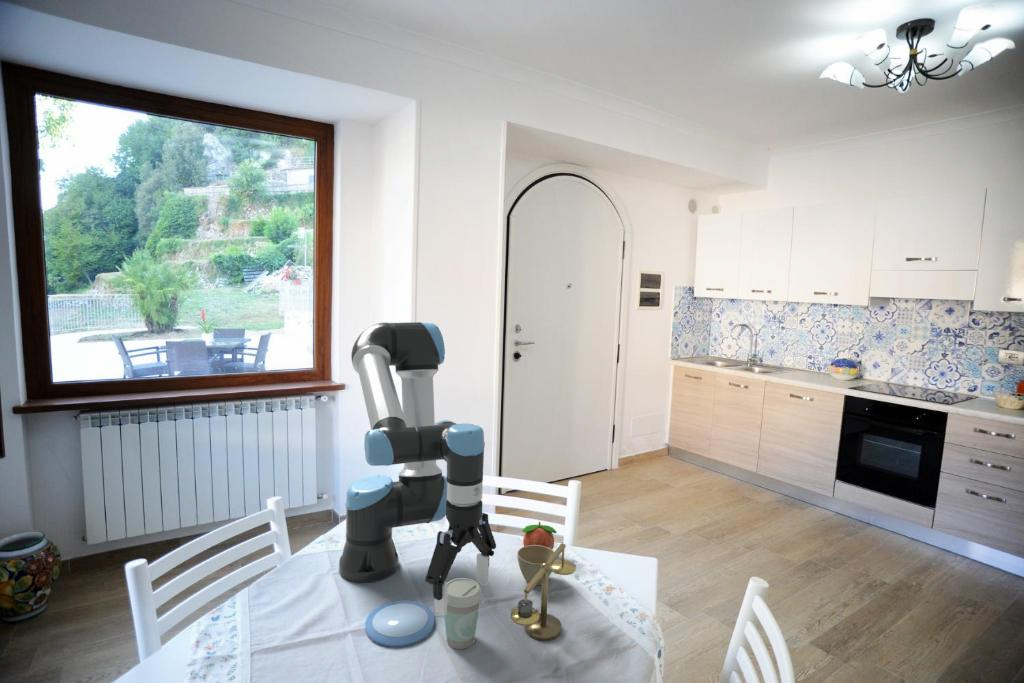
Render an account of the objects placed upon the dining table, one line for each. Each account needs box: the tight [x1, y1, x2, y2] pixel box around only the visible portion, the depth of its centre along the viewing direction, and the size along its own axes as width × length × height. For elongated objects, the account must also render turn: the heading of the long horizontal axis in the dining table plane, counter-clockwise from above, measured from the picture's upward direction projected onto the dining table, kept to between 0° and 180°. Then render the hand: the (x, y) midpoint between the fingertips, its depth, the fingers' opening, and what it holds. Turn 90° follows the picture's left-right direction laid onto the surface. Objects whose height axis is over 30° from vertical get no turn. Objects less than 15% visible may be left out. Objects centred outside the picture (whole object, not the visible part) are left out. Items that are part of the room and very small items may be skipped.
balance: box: [510, 542, 577, 642], centre depth 123 cm, size 8×21×17 cm, turn 145°
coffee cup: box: [443, 577, 483, 650], centre depth 118 cm, size 8×8×12 cm
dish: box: [364, 600, 435, 648], centre depth 123 cm, size 15×15×1 cm
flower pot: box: [516, 545, 555, 586], centre depth 143 cm, size 10×10×7 cm
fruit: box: [521, 521, 557, 551], centre depth 155 cm, size 9×10×10 cm
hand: (462, 597), depth 117 cm, fingers open, 13 cm apart
